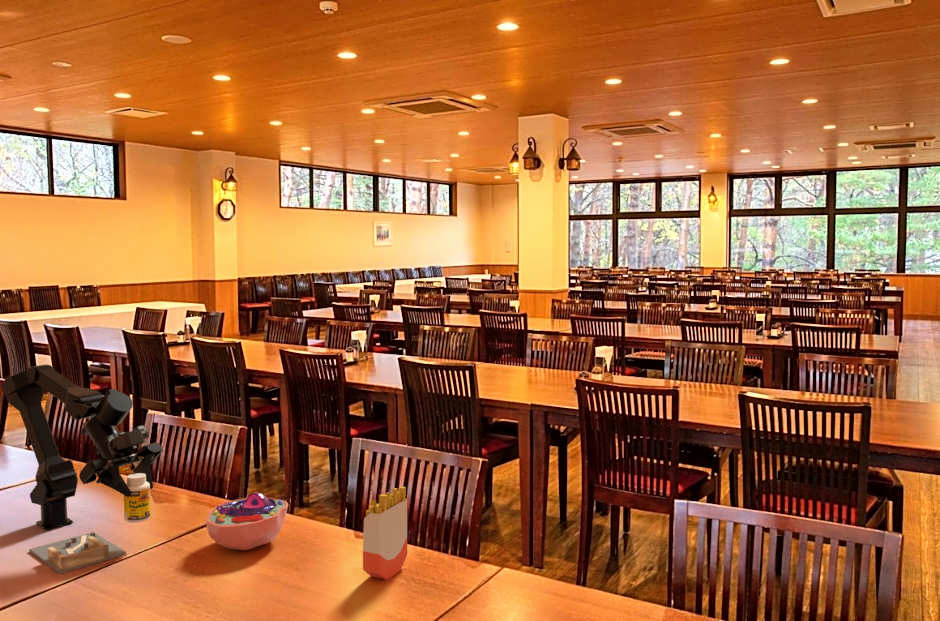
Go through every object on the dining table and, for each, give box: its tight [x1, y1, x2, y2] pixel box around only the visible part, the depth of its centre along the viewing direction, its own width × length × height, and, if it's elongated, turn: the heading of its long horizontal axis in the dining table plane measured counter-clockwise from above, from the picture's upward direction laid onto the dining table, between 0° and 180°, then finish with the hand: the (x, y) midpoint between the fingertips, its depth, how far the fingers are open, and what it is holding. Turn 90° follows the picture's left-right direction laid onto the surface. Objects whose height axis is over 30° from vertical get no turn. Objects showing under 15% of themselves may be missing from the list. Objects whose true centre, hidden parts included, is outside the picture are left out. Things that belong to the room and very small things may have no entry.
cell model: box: [206, 491, 289, 551], centre depth 179 cm, size 17×20×11 cm
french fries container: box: [362, 486, 408, 581], centre depth 164 cm, size 5×11×18 cm, turn 154°
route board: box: [28, 531, 127, 575], centre depth 175 cm, size 18×14×2 cm
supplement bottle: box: [123, 473, 151, 524], centre depth 177 cm, size 6×6×10 cm
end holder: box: [48, 536, 109, 570], centre depth 171 cm, size 8×10×2 cm
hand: (140, 492), depth 176 cm, fingers closed on supplement bottle, 6 cm apart
